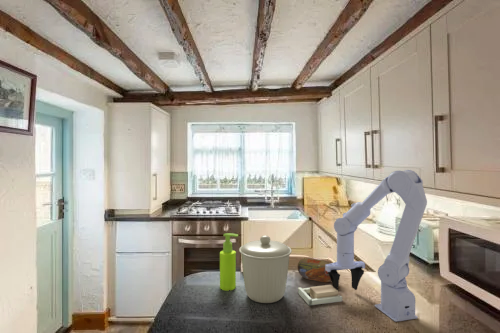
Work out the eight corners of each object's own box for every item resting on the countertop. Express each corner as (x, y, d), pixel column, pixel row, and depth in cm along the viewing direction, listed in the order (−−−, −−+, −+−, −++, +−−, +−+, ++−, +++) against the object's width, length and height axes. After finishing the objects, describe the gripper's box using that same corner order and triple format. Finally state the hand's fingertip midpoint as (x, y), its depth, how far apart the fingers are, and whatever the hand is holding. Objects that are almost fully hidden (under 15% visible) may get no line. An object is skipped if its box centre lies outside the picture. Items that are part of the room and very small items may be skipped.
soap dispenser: (236, 291, 103) (236, 236, 102) (217, 289, 104) (217, 235, 104) (240, 284, 108) (240, 232, 108) (222, 283, 110) (222, 231, 110)
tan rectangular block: (338, 299, 97) (338, 290, 97) (316, 302, 95) (316, 293, 95) (330, 293, 102) (330, 284, 102) (309, 295, 100) (309, 287, 100)
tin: (297, 277, 116) (297, 256, 116) (299, 274, 118) (299, 254, 118) (335, 284, 109) (335, 262, 108) (336, 281, 111) (337, 260, 111)
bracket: (342, 301, 96) (342, 295, 96) (309, 305, 93) (309, 299, 93) (328, 289, 104) (328, 284, 104) (298, 293, 101) (298, 287, 101)
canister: (289, 312, 88) (289, 244, 88) (233, 306, 92) (233, 241, 92) (292, 287, 106) (293, 230, 106) (245, 283, 110) (245, 228, 110)
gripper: (356, 246, 106) (356, 283, 106) (321, 249, 103) (320, 286, 103) (368, 252, 99) (368, 291, 100) (331, 255, 96) (330, 295, 96)
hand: (345, 289), depth 101 cm, fingers open, 7 cm apart
